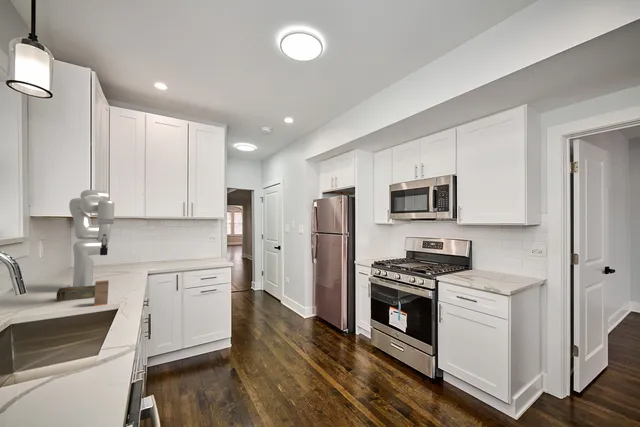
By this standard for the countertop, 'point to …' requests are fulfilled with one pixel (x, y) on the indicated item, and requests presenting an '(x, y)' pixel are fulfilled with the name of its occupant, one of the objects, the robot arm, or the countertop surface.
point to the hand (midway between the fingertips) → (103, 254)
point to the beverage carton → (75, 293)
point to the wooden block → (101, 293)
